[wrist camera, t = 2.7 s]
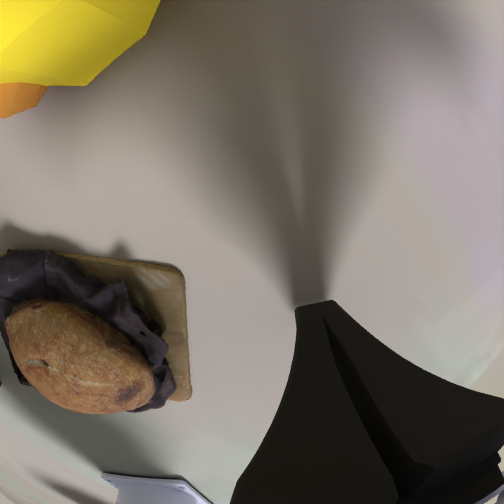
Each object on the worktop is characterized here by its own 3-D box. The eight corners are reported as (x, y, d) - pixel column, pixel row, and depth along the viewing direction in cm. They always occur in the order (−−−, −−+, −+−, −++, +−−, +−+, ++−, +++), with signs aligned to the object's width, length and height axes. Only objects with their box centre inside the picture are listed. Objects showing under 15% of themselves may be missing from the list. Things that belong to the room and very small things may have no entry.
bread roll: (191, 247, 10) (174, 311, 7) (194, 398, 14) (189, 459, 11) (-22, 233, 9) (-71, 271, 6) (24, 366, 13) (-1, 410, 10)
